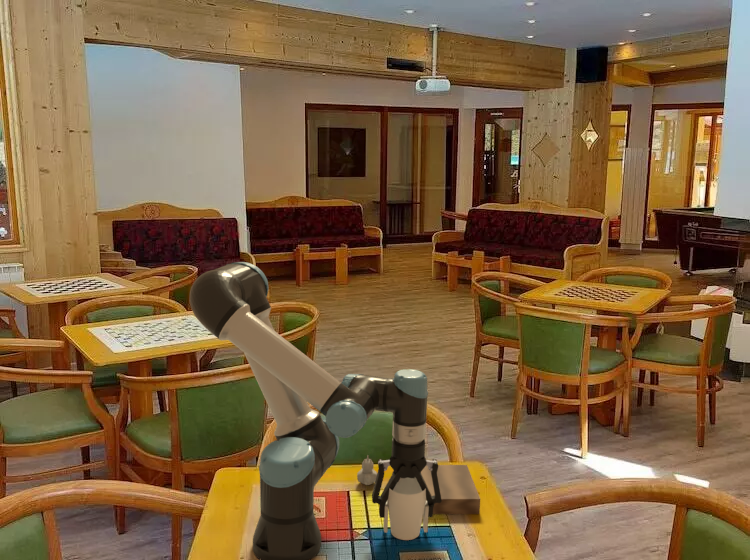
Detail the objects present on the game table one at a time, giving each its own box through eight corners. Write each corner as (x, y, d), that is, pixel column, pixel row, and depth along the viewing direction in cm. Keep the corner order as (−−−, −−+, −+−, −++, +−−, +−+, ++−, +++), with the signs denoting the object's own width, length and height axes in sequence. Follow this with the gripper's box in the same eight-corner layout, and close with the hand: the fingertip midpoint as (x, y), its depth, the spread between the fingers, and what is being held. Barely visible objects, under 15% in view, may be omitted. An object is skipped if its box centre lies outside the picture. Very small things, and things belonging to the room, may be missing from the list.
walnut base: (406, 514, 166) (407, 499, 165) (400, 478, 183) (400, 464, 183) (479, 513, 167) (480, 499, 166) (466, 478, 184) (466, 464, 184)
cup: (421, 546, 153) (424, 497, 150) (382, 540, 154) (384, 492, 152) (427, 524, 161) (429, 478, 159) (389, 519, 163) (391, 473, 161)
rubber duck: (377, 478, 183) (377, 450, 182) (377, 490, 177) (378, 462, 175) (356, 478, 183) (357, 450, 182) (357, 490, 177) (357, 462, 175)
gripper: (362, 445, 149) (359, 538, 153) (458, 445, 150) (453, 538, 155) (361, 431, 156) (358, 520, 161) (453, 431, 158) (448, 520, 162)
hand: (405, 529), depth 158 cm, fingers closed on cup, 9 cm apart
